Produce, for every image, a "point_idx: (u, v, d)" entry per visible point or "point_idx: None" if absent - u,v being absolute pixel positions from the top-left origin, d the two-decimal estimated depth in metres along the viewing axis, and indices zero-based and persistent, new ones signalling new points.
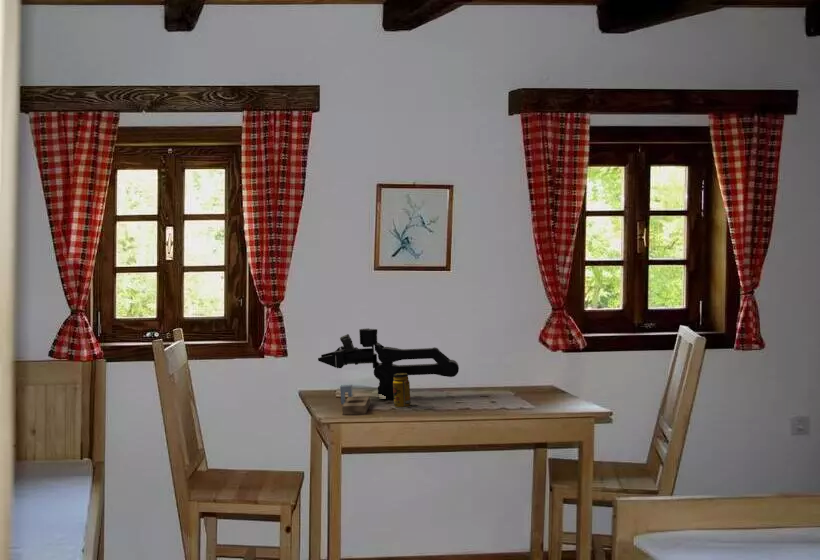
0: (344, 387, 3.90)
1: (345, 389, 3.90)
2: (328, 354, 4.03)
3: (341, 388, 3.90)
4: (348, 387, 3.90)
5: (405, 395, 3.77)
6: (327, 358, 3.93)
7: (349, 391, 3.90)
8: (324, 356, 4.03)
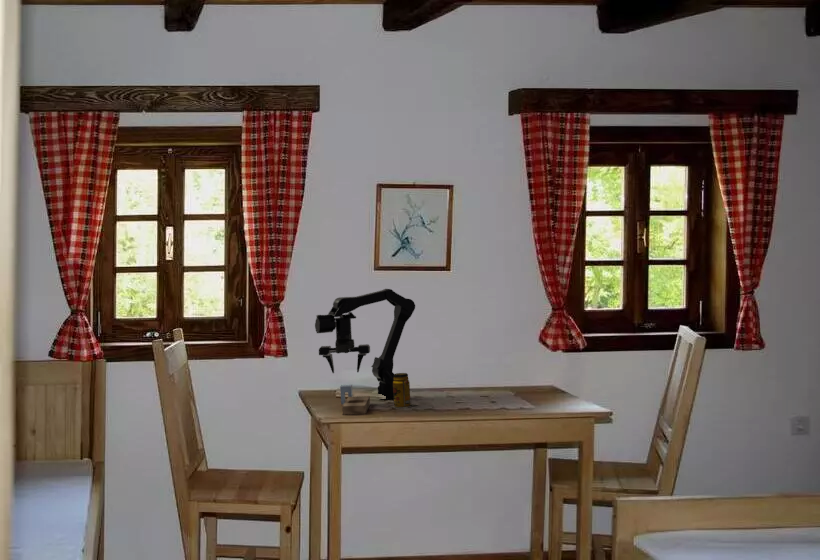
0: (344, 387, 3.90)
1: (345, 389, 3.90)
2: (332, 366, 3.91)
3: (341, 388, 3.90)
4: (348, 387, 3.90)
5: (405, 395, 3.77)
6: (360, 362, 3.91)
7: (349, 391, 3.90)
8: (333, 369, 3.92)
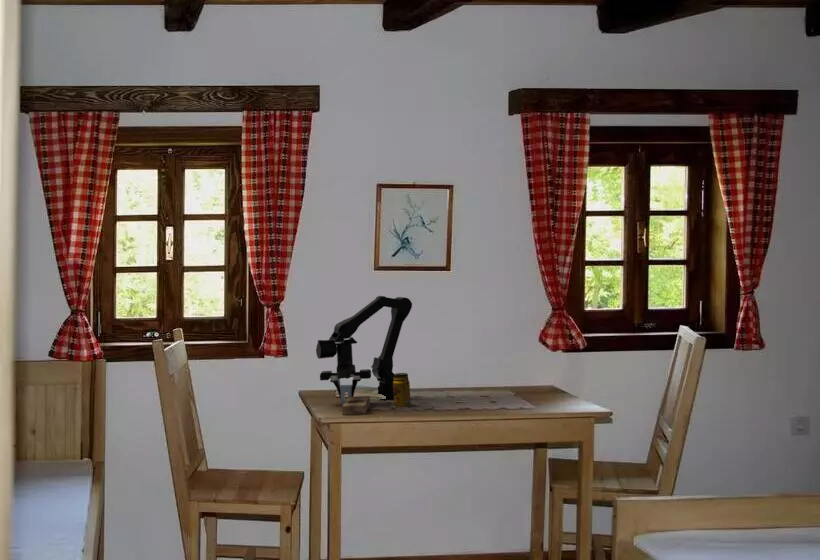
0: (344, 387, 3.90)
1: (345, 389, 3.90)
2: None
3: (341, 388, 3.90)
4: (348, 387, 3.90)
5: (405, 395, 3.77)
6: (355, 387, 3.92)
7: (349, 391, 3.90)
8: None
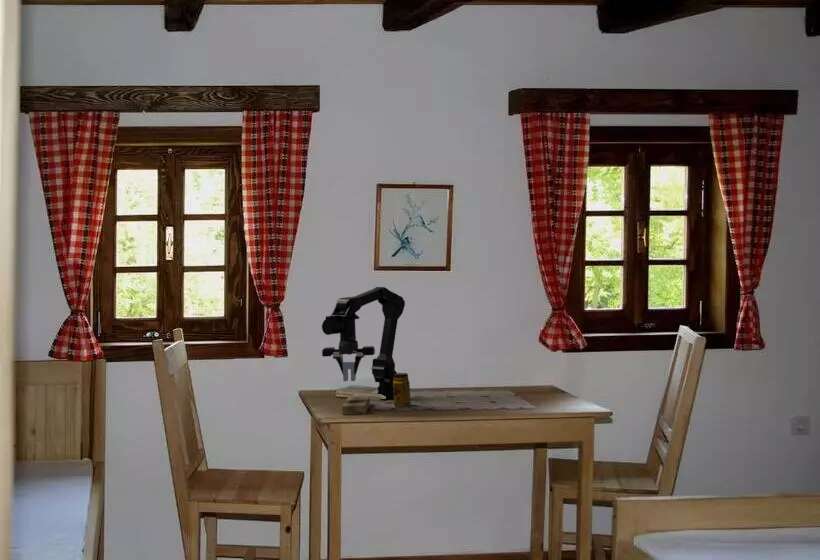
0: (347, 364, 3.81)
1: (348, 366, 3.81)
2: None
3: (343, 365, 3.81)
4: (351, 364, 3.81)
5: (405, 395, 3.77)
6: (358, 364, 3.82)
7: (352, 368, 3.81)
8: None
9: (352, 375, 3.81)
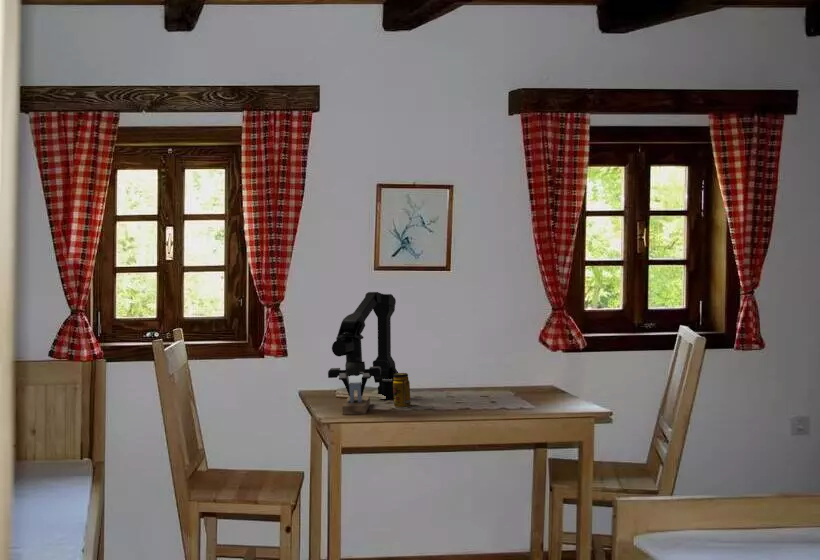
0: (353, 385, 3.75)
1: (354, 387, 3.75)
2: None
3: (350, 386, 3.75)
4: (357, 385, 3.75)
5: (405, 395, 3.77)
6: (364, 385, 3.76)
7: (358, 389, 3.75)
8: None
9: (359, 396, 3.75)
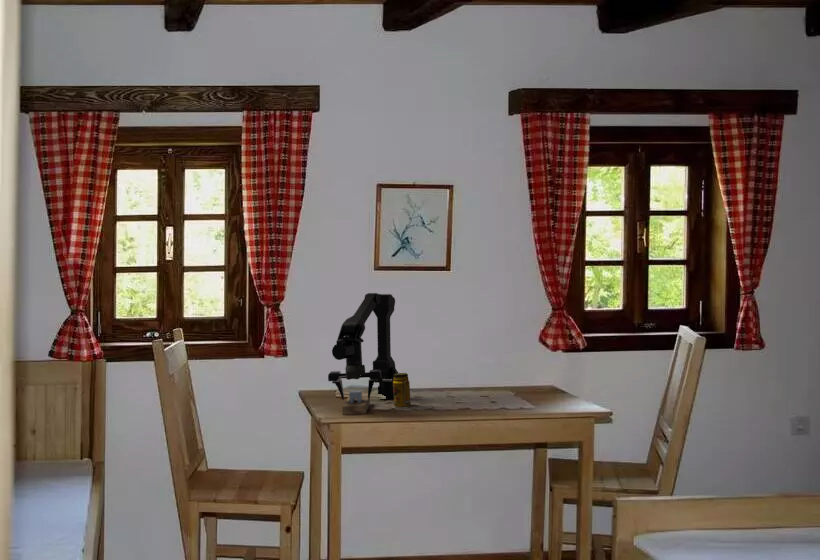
0: (353, 393, 3.75)
1: (354, 395, 3.75)
2: (342, 392, 3.77)
3: (350, 394, 3.75)
4: (357, 393, 3.75)
5: (405, 395, 3.77)
6: (371, 388, 3.76)
7: (358, 397, 3.75)
8: (343, 396, 3.77)
9: None
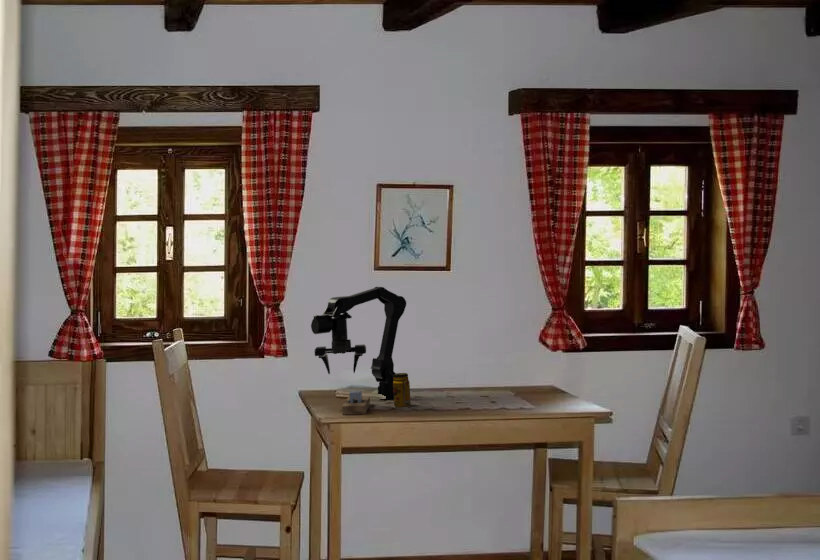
0: (353, 393, 3.75)
1: (354, 395, 3.75)
2: (328, 366, 3.86)
3: (350, 394, 3.75)
4: (357, 393, 3.75)
5: (405, 395, 3.77)
6: (356, 362, 3.86)
7: (358, 397, 3.75)
8: (329, 370, 3.87)
9: None
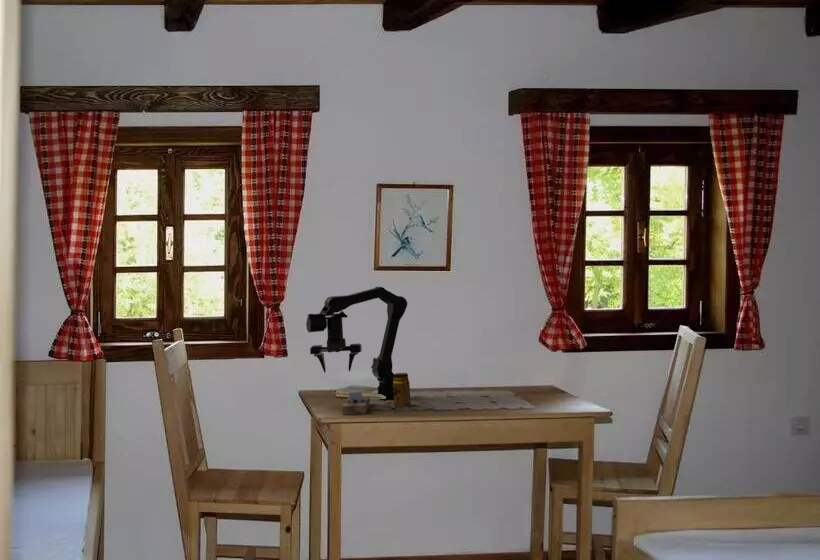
0: (353, 393, 3.75)
1: (354, 395, 3.75)
2: (324, 365, 3.90)
3: (350, 394, 3.75)
4: (357, 393, 3.75)
5: (405, 395, 3.77)
6: (352, 361, 3.90)
7: (358, 397, 3.75)
8: (325, 369, 3.91)
9: None
